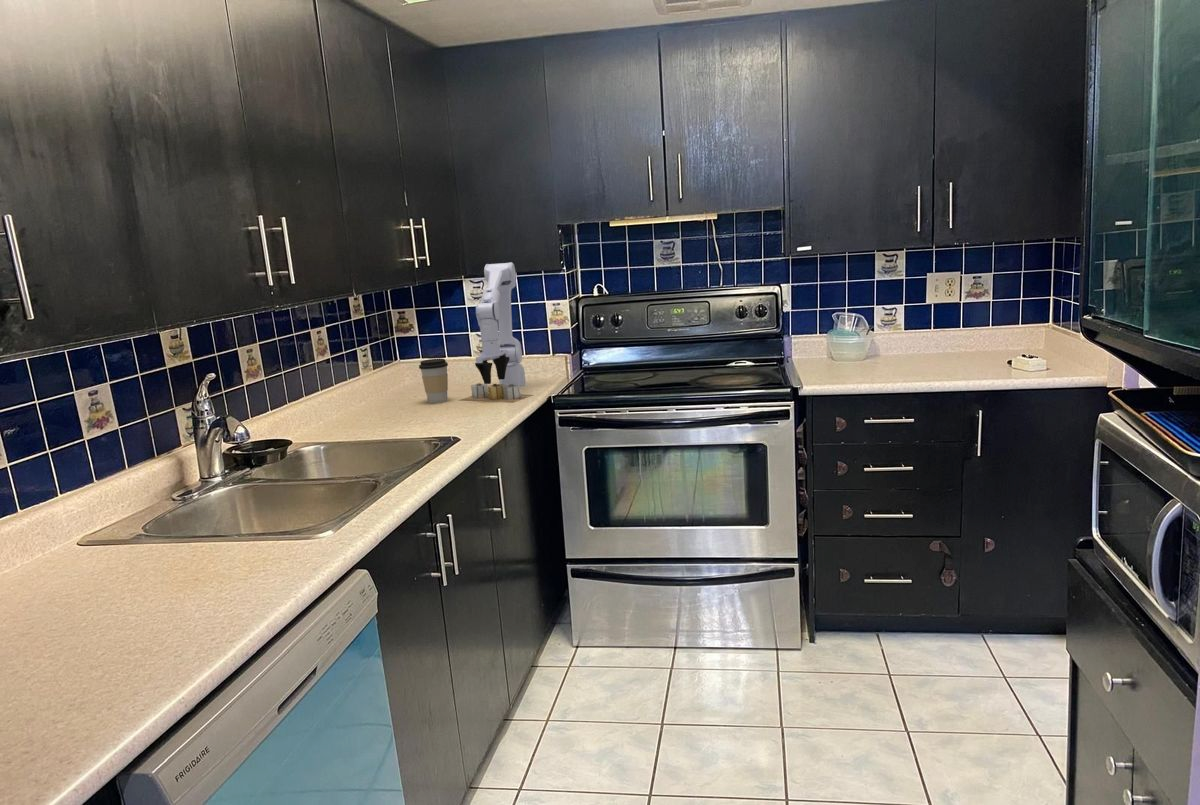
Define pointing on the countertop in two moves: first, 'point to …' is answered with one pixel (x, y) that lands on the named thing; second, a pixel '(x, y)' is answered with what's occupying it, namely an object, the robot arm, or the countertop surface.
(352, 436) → the countertop surface
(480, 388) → the steel gear
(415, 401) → the countertop surface
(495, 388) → the brass gear
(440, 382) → the coffee cup
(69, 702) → the countertop surface
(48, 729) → the countertop surface
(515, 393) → the steel gear
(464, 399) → the gear board
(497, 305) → the robot arm
